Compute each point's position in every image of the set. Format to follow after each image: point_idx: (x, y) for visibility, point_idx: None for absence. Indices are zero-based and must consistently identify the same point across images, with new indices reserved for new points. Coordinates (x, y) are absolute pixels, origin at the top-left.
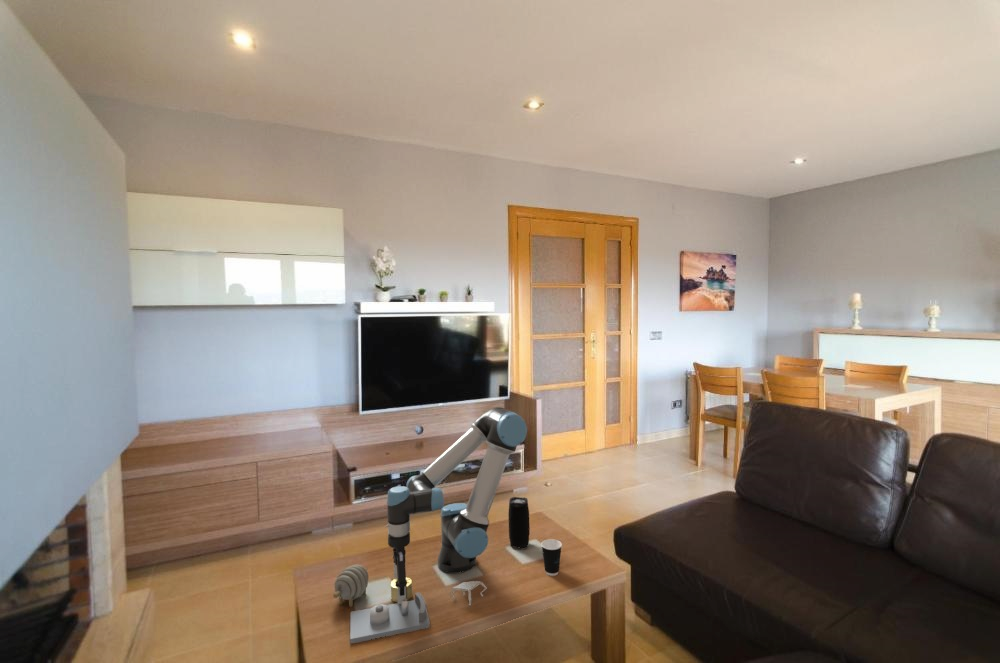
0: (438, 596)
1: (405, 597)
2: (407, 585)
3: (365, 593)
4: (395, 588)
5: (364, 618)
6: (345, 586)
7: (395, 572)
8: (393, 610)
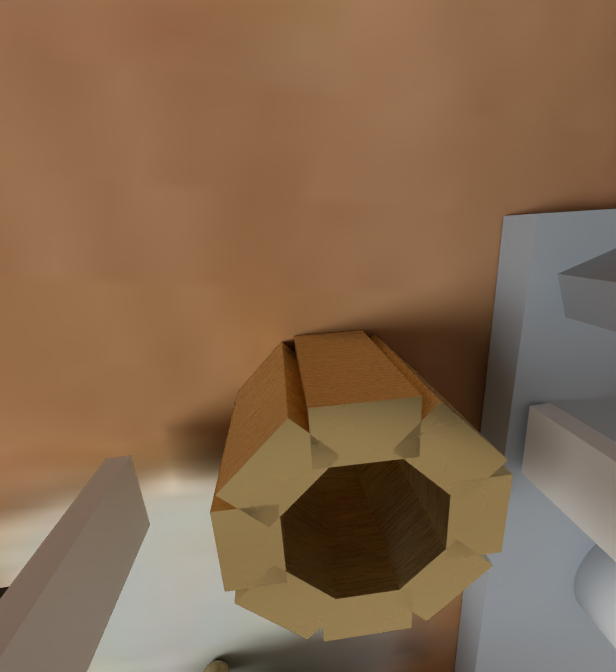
0: (456, 19)
1: (605, 441)
2: (478, 454)
3: (224, 662)
4: (465, 577)
5: (577, 647)
6: None
7: (87, 643)
8: None
